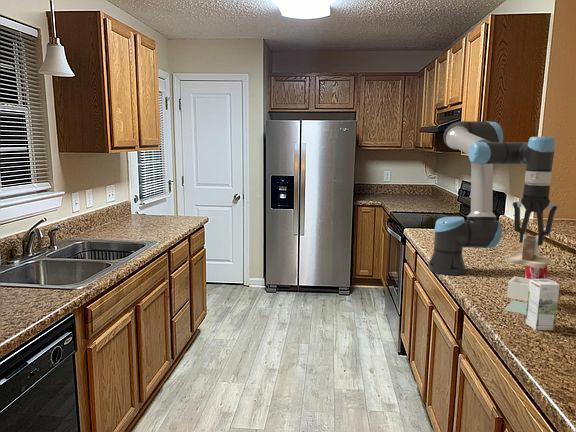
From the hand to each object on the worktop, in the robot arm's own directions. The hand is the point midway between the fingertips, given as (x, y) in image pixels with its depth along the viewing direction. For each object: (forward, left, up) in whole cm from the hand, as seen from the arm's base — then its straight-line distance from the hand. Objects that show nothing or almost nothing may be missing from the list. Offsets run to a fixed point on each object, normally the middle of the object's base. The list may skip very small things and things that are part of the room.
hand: (529, 253), depth 151 cm
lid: (0, 0, -3) cm, 3 cm away
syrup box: (+8, -20, -18) cm, 28 cm away
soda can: (-1, +20, -18) cm, 27 cm away
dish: (-2, +7, -18) cm, 19 cm away
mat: (+2, -6, -18) cm, 19 cm away
